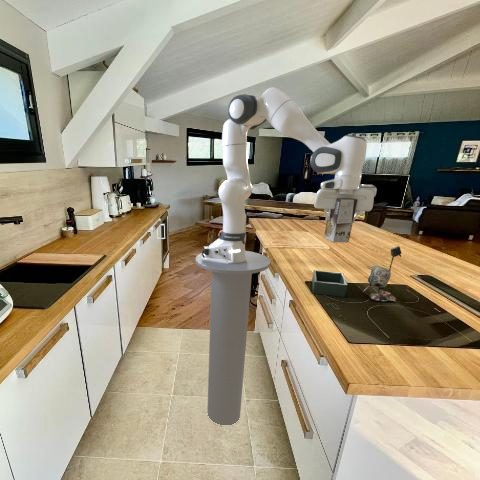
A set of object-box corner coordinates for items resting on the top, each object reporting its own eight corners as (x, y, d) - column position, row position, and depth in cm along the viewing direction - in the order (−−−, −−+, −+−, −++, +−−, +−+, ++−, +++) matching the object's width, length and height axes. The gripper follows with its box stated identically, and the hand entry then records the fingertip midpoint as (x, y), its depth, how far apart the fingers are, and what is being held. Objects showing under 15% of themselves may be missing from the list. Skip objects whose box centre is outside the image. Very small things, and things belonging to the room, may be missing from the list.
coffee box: (349, 242, 119) (358, 199, 113) (332, 242, 119) (340, 198, 113) (339, 237, 127) (347, 196, 121) (323, 237, 127) (330, 196, 121)
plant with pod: (362, 291, 124) (374, 242, 117) (396, 297, 119) (409, 246, 112) (361, 298, 118) (373, 247, 110) (396, 305, 113) (411, 251, 105)
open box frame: (312, 293, 123) (314, 281, 121) (311, 281, 135) (313, 270, 134) (344, 297, 119) (347, 285, 117) (340, 284, 132) (343, 273, 130)
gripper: (376, 184, 115) (367, 222, 120) (317, 182, 121) (311, 218, 126) (379, 185, 109) (370, 224, 115) (317, 183, 115) (311, 221, 121)
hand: (339, 221), depth 120 cm, fingers closed on coffee box, 7 cm apart
